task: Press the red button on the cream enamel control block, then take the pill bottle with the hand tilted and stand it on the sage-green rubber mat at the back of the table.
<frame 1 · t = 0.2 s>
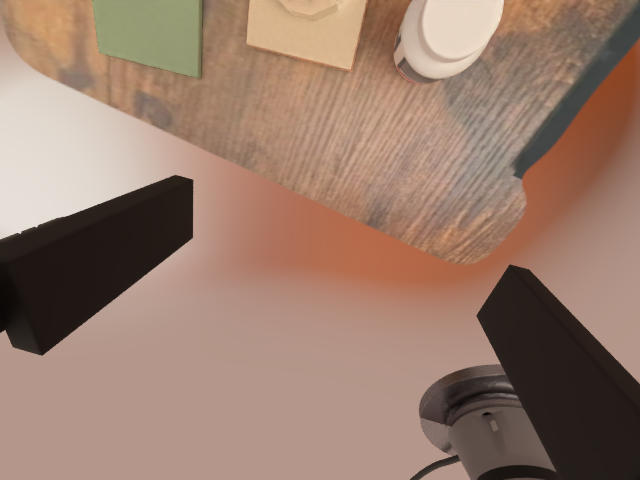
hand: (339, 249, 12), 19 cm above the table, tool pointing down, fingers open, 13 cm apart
mat: (148, 1, 25), on the table
pill bottle: (425, 48, 23), on the table
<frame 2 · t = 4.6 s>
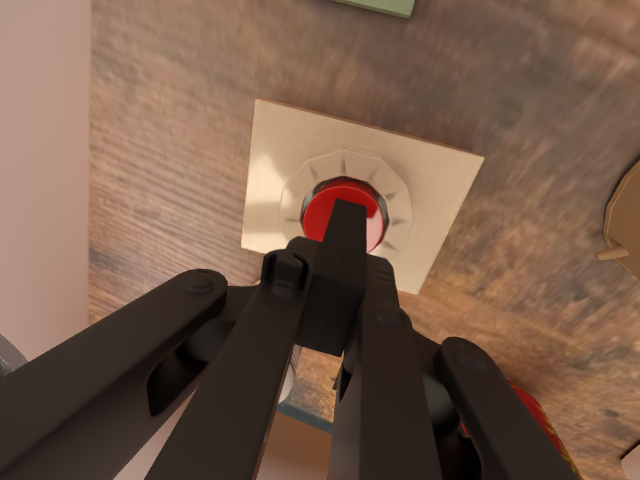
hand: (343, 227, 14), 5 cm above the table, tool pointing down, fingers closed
start button: (343, 219, 15), point 4 cm above the table, slide at -0.6 cm, touching gripper
pill bottle: (280, 300, 23), on the table
soda can: (483, 393, 24), on the table
control block: (347, 197, 18), on the table
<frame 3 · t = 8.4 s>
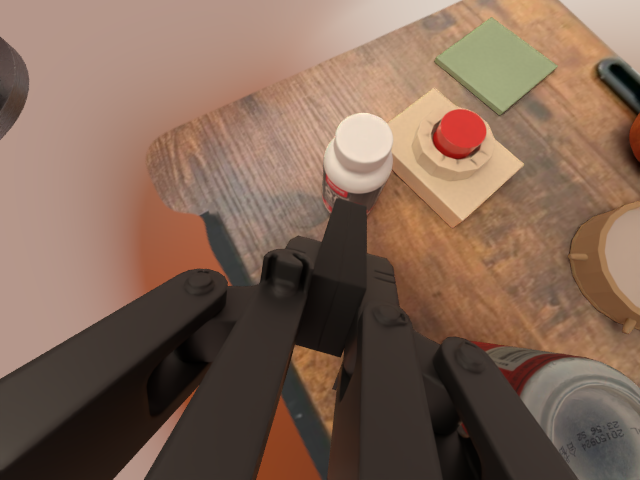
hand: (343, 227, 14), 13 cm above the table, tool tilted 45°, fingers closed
alarm clock: (639, 261, 27), on the table
start button: (458, 134, 25), point 4 cm above the table, slide at 0.1 cm
mat: (493, 66, 33), on the table
pill bottle: (348, 198, 28), on the table
soda can: (462, 383, 24), on the table
control block: (438, 161, 29), on the table
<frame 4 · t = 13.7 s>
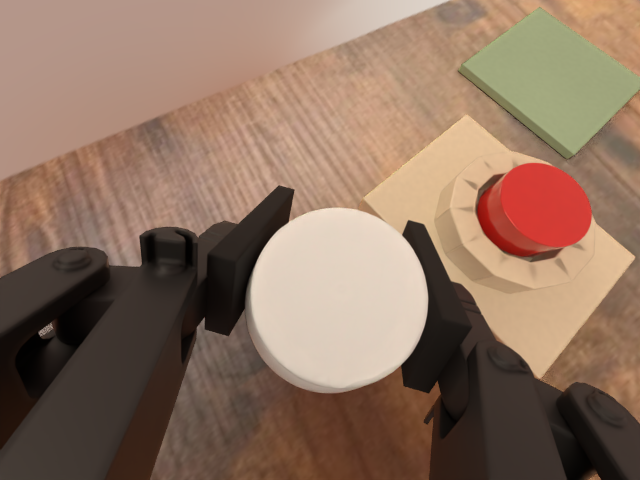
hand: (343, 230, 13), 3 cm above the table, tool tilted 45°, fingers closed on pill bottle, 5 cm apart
start button: (530, 210, 13), point 4 cm above the table, slide at 0.1 cm
mat: (548, 79, 21), on the table
pill bottle: (319, 311, 16), on the table, touching gripper
control block: (474, 239, 17), on the table
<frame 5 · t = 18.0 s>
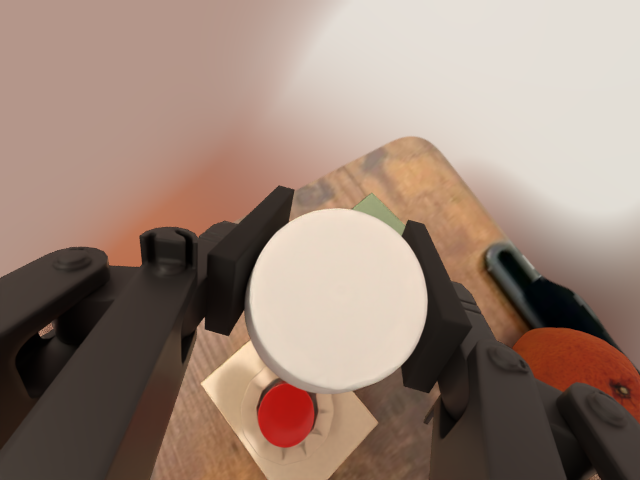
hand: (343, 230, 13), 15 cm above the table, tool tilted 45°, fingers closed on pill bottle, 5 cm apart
start button: (287, 411, 21), point 4 cm above the table, slide at 0.1 cm
fruit: (531, 376, 26), on the table
mat: (370, 256, 29), on the table
pill bottle: (319, 311, 16), point 12 cm above the table, touching gripper
control block: (290, 396, 25), on the table
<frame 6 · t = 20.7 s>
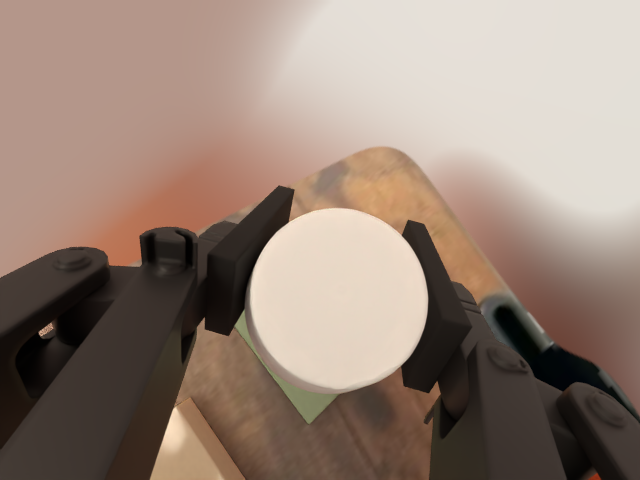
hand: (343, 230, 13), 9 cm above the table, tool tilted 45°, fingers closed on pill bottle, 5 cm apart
mat: (316, 314, 21), on the table
pill bottle: (319, 311, 16), point 6 cm above the table, touching gripper
when the fingers open (4 cm above the table, at t = 22.5 s): pill bottle stays where it is, resting on mat.
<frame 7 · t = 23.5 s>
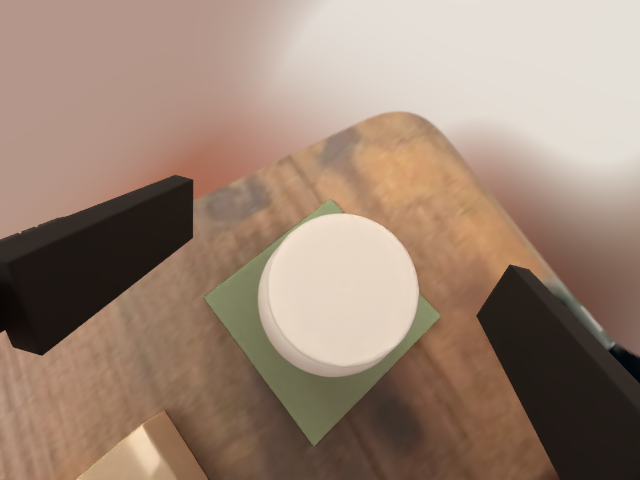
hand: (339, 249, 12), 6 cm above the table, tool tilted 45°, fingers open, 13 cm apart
mat: (322, 307, 17), on the table
pill bottle: (322, 307, 17), resting on mat
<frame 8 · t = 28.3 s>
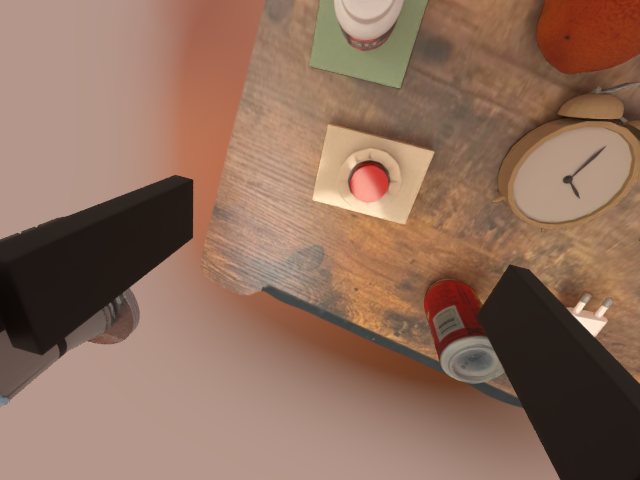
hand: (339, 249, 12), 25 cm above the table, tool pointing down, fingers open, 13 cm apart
alarm clock: (563, 157, 31), on the table
power adapter: (557, 311, 39), on the table
start button: (368, 182, 30), point 4 cm above the table, slide at 0.1 cm
fruit: (573, 22, 26), on the table
mat: (368, 21, 28), on the table
pill bottle: (368, 20, 27), resting on mat
soda can: (446, 294, 40), on the table
control block: (368, 173, 34), on the table
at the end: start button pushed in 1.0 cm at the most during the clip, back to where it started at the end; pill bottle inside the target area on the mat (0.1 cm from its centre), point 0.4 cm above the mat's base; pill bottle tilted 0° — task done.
